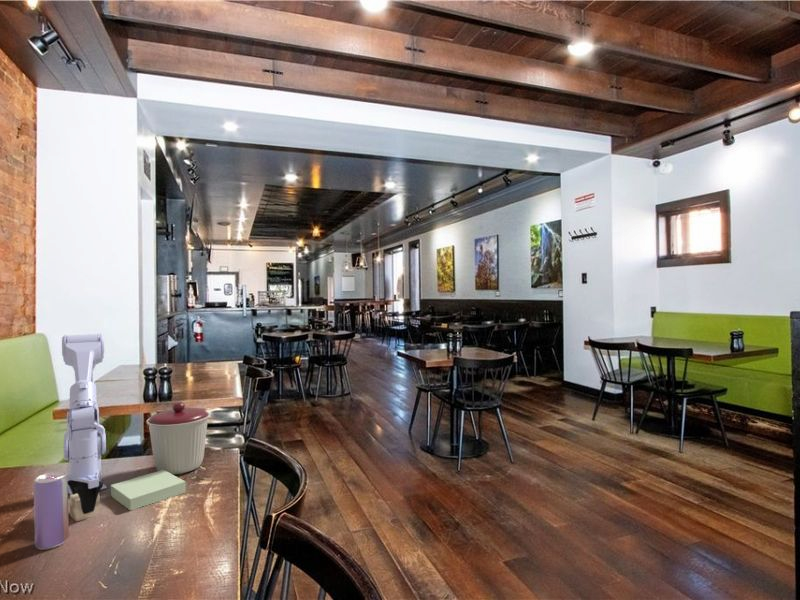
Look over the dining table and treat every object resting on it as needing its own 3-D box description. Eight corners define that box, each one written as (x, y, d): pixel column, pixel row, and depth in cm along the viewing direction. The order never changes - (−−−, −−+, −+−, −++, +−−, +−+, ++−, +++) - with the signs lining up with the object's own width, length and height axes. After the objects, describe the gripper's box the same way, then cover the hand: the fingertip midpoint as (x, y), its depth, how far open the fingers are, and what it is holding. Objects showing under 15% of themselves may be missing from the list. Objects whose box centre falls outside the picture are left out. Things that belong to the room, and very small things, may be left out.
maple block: (70, 515, 114) (69, 495, 114) (93, 508, 118) (92, 488, 118) (76, 521, 111) (75, 501, 111) (99, 513, 115) (99, 494, 115)
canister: (135, 481, 135) (134, 410, 134) (162, 459, 153) (161, 396, 152) (199, 479, 136) (197, 408, 136) (218, 457, 154) (217, 395, 154)
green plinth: (110, 495, 125) (110, 485, 125) (163, 479, 136) (163, 469, 136) (130, 510, 116) (130, 499, 116) (185, 492, 127) (185, 481, 127)
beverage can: (50, 552, 98) (49, 482, 97) (27, 549, 99) (26, 480, 99) (75, 537, 103) (74, 472, 103) (53, 535, 105) (52, 470, 104)
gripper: (56, 453, 116) (57, 506, 116) (73, 466, 107) (74, 524, 107) (88, 446, 121) (89, 496, 121) (107, 458, 112) (108, 513, 112)
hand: (84, 509), depth 114 cm, fingers closed on maple block, 5 cm apart
